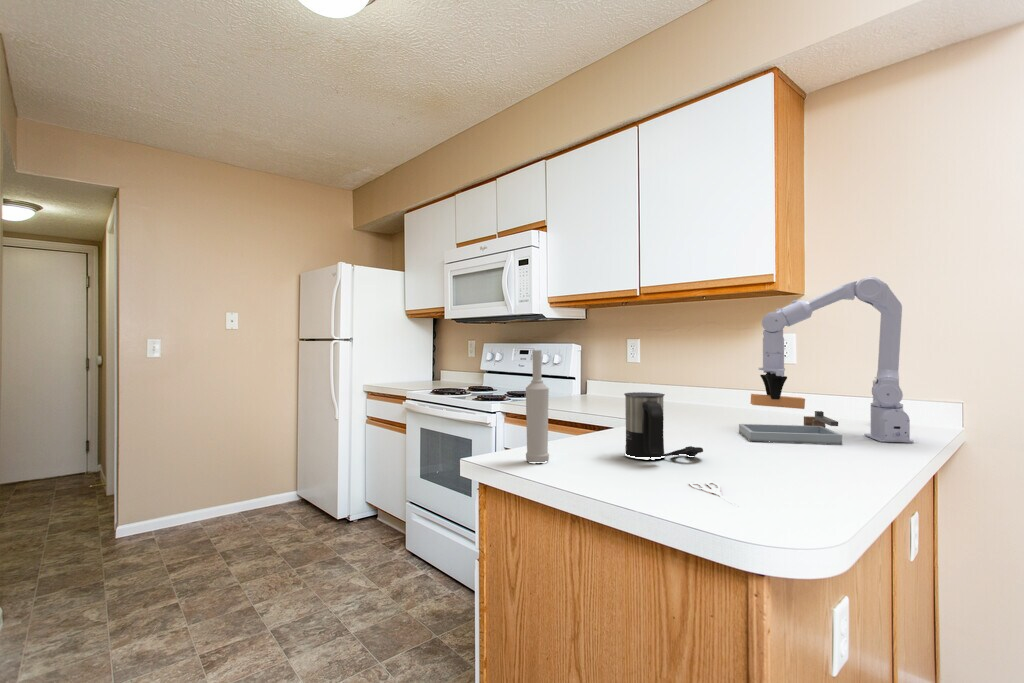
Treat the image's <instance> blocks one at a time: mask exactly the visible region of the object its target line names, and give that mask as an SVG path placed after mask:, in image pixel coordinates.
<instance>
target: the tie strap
mask: <svg viewBox="0 0 1024 683" xmlns="http://www.w3.org/2000/svg"><path fill="white" fill-rule="evenodd" d="M814 417H815V419H816V420H818V421H820V422H823V423H825V425H827V426H830V427H839V421H838V420H835V419H832V418H830V417H827V416H825V415H824V411H823V410H816V411H814Z"/></svg>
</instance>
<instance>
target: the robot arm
mask: <svg viewBox="0 0 1024 683" xmlns="http://www.w3.org/2000/svg"><path fill="white" fill-rule="evenodd" d="M855 297H856V299H858V300H859V301H860V302H863V303H866V304H869V305H870V306H872V307H873V308H874V309H875V310H877V311H878V312H879V313H880V323H879V324H880V325H879V326H880V327H879V337H878V338H879V339H878V357H877V358H878V359H877V372H876V377H877V379H876V383H875V384H874V385H873V384H872V387H871V394H872V398H873V397H874V398H875V401H874V402H873V401H872V402H870V433H864V436H865V437H868V438H870V439H872V440H876V441H878V442H883V443H888V442H889V443H912V444H913V443H914V440H912V439H911V437H910V436H911V435H910V434H911V433H910V432H911V430H910V427H911V426H910V425H911V424H910V416H909V414H908V413H906V412H905V411H904V404H902V403H901V401H902V400H903V397H904V394H903V391H902V389H901V387H900V375H899V366H900V351H901V350H900V349H901V348H900V347H901V333H902V316H903V315H902V314H903V305H902V303H901V301H900V300H899V299H898V298H897V296H896V295H895V293H894V292H893V291H892V289H891V288H890V287H889V285H888V284H887V283H886V282H885V281H883V280H881V279H879V278H877V277H876V276H866V277H863V278H861V279H859V281H858V280H854V281H851V282H848V283H845V284H843V285H840V286H838V287H836V288H834V289H832V290H830V291H828V292H825V293H823V294H822V295H819V296H817V297H815V298H812V299H811V300H807V301H806V300H802V299H800V300H796V299H794V300H792V301H791V304H788V305H786V306H784V307H782V308H779V307H778V308H776V309H775V310H774V311H771V312H768V313H767V314H766V315H765V316H763V318H762V320H761V326H762V327H763V331H762V332H763V333H762V335H763V337H762V367H758V371H763V374H760V375H759V376H760V377H761V379H762V382H763V384H764V387H765V393H766V395H770V396H771V399H778V400H779V399H780V396H782V391H783V388H784V385H785V382H786V381H787V379H788V376H786V375H785V371H786V368H785V338H784V329H785V327H791V326H794V325H796V324H798V323H800V322H803V321H805V320H808V319H810V318H811V317H812V315H813V312H814V311H817V310H819V309H822V308H825V307H827V306H830V305H832V304H834V303H837V302H840V301H841V300H845V301H846V300H848V301H849V300H851V301H853V300H855Z"/></svg>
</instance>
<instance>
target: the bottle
mask: <svg viewBox="0 0 1024 683" xmlns="http://www.w3.org/2000/svg"><path fill="white" fill-rule="evenodd" d="M531 354H532V380H531V381H530V383H529V384H528V385H527V386H526V387H525V416H526V453H525V459H526V462H527V461H528V462H545V461H548V462H549V459H550V457H549V456H550V455H549V454H550V453H549V452H548V450H549V449H548V448H549V447H548V442H549V440H548V439H549V392H550V391H549V390H550V388H549V387H548V386H547V385H546V384H545V383H544V380H543V379H542V358H543V357H542V349H535V350H532V353H531Z"/></svg>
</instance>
